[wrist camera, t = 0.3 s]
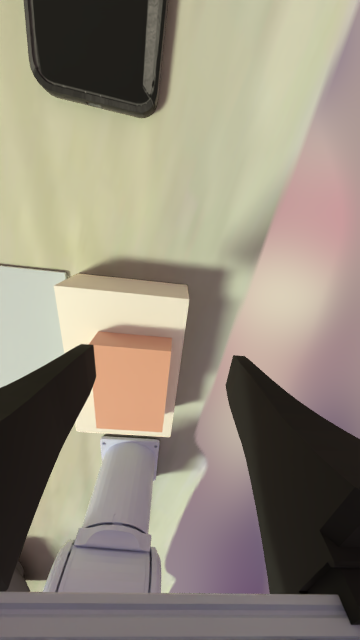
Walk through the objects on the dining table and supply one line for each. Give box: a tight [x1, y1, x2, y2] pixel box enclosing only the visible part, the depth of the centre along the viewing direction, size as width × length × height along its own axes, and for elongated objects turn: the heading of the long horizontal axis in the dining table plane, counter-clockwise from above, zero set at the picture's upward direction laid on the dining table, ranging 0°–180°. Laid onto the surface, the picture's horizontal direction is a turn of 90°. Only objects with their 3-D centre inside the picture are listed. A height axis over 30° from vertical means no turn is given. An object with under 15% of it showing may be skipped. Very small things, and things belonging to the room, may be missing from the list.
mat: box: [0, 265, 67, 388], centre depth 21 cm, size 16×15×1 cm
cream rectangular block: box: [54, 273, 189, 437], centre depth 20 cm, size 16×10×4 cm, turn 174°
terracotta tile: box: [89, 331, 172, 432], centre depth 18 cm, size 9×6×2 cm, turn 174°
